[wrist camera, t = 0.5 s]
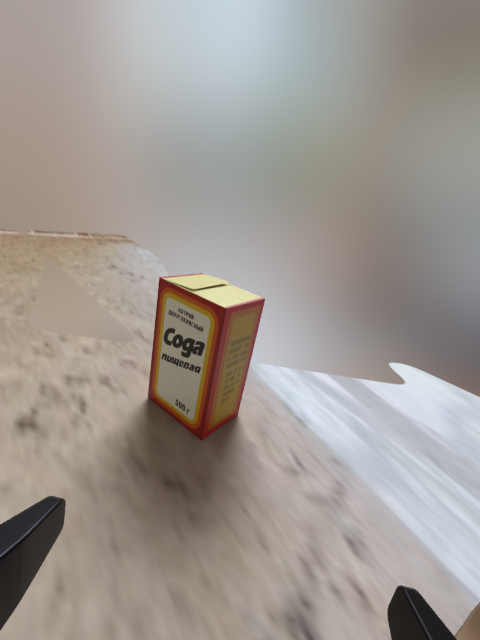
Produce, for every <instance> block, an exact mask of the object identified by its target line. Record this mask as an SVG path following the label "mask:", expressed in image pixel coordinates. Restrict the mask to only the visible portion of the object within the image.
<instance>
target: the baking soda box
mask: <svg viewBox="0 0 480 640" xmlns="http://www.w3.org/2000/svg"><path fill="white" fill-rule="evenodd" d="M227 283H228V282H227V281H224V280H221V279H218V278H215V277H212V276H209V275H206V274H202V273H201V274H190V275H180V276H169V277H160V278H159V288H158V299H157V309H156V319H155V330H154V340H153V350H152V361H151V371H150V382H149V392H148V397H149V398H150V399H151V400H152V401H154V402H155V403H156V404H157V405H159V406H160V407H161V408H162V409H164V410H165V411H166V412H167V413H169V414H170V415H171V416H172V417H174V418H175V419H176V420H177V421H178V422H180V423H181V424H182V425H183V426H185V427H186V428H187V429H188V430H190V431H191V432H192V433H193V434H195V435H196V436H197V437H198V438H200V439H201V440H203V439H204V438H205V437H207V436H208V435H210V434H211V433H212V432H214V431H215V430H217V429H218V428H219V427H221V426H222V425H224V424H225V423H226V422H228V421H229V420H231V419H232V418H233V417H235V416H236V415H238V411H239V407H240V403H241V398H242V394H243V390H244V386H245V381H246V377H247V373H248V369H249V365H250V360H251V356H252V352H253V348H254V344H255V339H256V335H257V331H258V326H259V322H260V318H261V313H262V310H263V306H264V301H265V299H264V298H261V297H259V296H257V295H254V294H252V293H250V292H247V291H244V290H242V289H240V288H237V287H235V286H232V285H230V284H227Z"/></svg>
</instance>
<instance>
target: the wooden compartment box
mask: <svg viewBox="0 0 480 640" xmlns="http://www.w3.org/2000/svg"><path fill="white" fill-rule="evenodd" d="M454 637H455V638H456V639H457V640H480V603H479V604H478V605H477V606H476V607H475V608H474V610H473V611H472V612H471V613H470V615H469V616H468V618H467V619H466V621H465V622H464V623H463V625H462V626H461V628H460V629H459V631H458V632H457V633H456V635H455V636H454Z"/></svg>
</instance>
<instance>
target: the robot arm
mask: <svg viewBox="0 0 480 640" xmlns="http://www.w3.org/2000/svg"><path fill="white" fill-rule="evenodd" d="M64 516H65V500H64V499H63V498H59V497H55V496H49V497H47V498H45V499H43V500H41V501H40V502H38V503H36V504H35V505H33V506H31V507H29V508H28V509H26V510H24V511H23V512H21V513H19V514H18V515H16V516H14V517H12V518H11V519H9V520H7V521H6V522H4V523H2V524H0V630H1V629H2V627H3V626H4V624H5V623H6V622H7V620H8V619H9V617H10V616H11V614H12V613H13V611H14V610H15V608H16V607H17V605H18V604H19V602H20V601H21V599H22V597H23V596H24V594H25V592H26V591H27V589H28V587H29V586H30V584H31V582H32V580H33V579H34V577H35V575H36V574H37V572H38V570H39V568H40V567H41V565H42V563H43V562H44V560H45V558H46V556H47V555H48V553H49V551H50V549H51V548H52V546H53V544H54V543H55V541H56V539H57V537H58V536H59V534H60V532H61V530H62V528H63V524H64ZM388 622H389V628H390V633H391V638H392V640H457V639H456V638H455V637H454V635H453V634H452V633H451V632H450V630H449V629H448V628H447V627H446V626H445V624H444V623H443V622H442V621H441V619H440V618H439V617H438V616H437V614H436V613H435V612H434V611H433V609H432V608H431V607H430V606H429V605H428V603H427V602H426V601H425V600H424V598H423V597H422V596H421V595H420V593H419V592H418V591H416V590H415V589H413V588H410V587H406V586H402V585H400V586H398V587H397V588H396V590H395V593H394V595H393V597H392V599H391V602H390V604H389V606H388Z"/></svg>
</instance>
